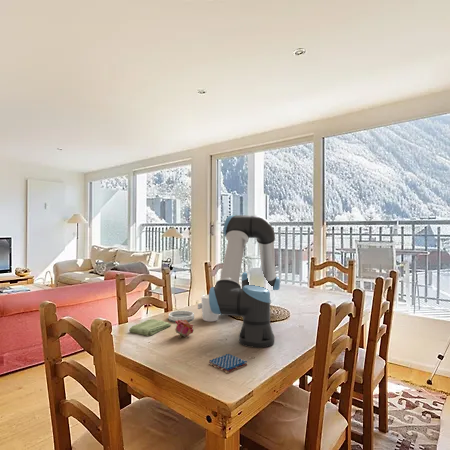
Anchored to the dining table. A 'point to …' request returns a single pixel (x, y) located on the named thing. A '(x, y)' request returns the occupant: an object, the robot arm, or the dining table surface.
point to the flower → (183, 328)
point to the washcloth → (149, 327)
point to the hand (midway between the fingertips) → (203, 308)
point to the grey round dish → (181, 316)
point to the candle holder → (207, 310)
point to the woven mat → (228, 362)
